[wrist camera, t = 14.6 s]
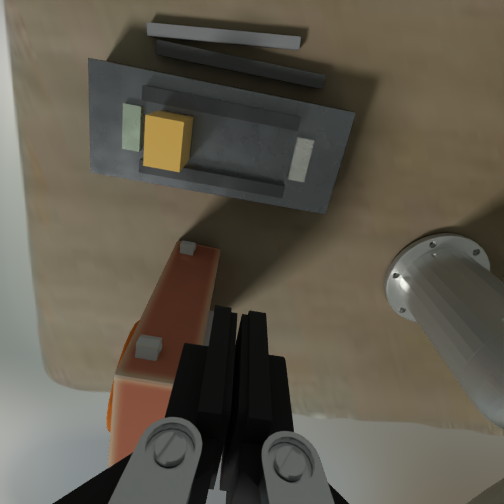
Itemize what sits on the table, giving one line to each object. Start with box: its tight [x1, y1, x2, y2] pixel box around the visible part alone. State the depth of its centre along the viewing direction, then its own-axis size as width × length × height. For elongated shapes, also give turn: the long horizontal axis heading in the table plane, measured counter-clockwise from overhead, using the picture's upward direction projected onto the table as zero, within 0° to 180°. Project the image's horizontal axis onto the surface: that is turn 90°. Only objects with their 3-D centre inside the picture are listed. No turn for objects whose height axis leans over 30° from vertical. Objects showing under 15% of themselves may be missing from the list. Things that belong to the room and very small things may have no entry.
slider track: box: [88, 58, 356, 214], centre depth 34 cm, size 24×10×5 cm, turn 79°
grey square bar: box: [147, 22, 301, 50], centre depth 32 cm, size 14×1×1 cm, turn 85°
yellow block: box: [143, 110, 194, 172], centre depth 30 cm, size 3×4×5 cm
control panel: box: [107, 240, 221, 468], centre depth 35 cm, size 21×7×15 cm
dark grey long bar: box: [156, 40, 326, 89], centre depth 33 cm, size 16×1×1 cm, turn 79°
